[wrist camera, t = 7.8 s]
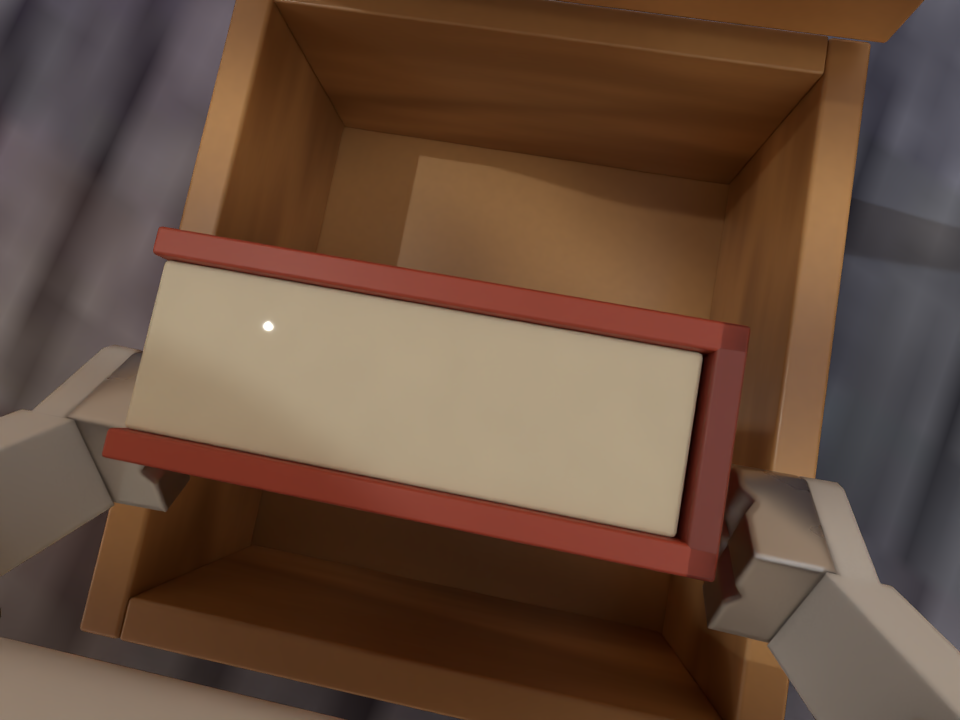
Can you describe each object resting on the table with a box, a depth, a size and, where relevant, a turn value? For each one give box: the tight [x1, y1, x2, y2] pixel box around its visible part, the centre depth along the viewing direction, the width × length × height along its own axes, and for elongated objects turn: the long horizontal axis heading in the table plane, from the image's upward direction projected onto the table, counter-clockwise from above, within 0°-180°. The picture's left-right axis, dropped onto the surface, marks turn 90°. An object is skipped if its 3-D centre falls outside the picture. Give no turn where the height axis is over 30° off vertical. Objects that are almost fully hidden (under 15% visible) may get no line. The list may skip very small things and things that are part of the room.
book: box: [102, 227, 751, 582], centre depth 11 cm, size 2×6×10 cm, turn 79°
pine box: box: [80, 0, 870, 720], centre depth 14 cm, size 14×13×6 cm
